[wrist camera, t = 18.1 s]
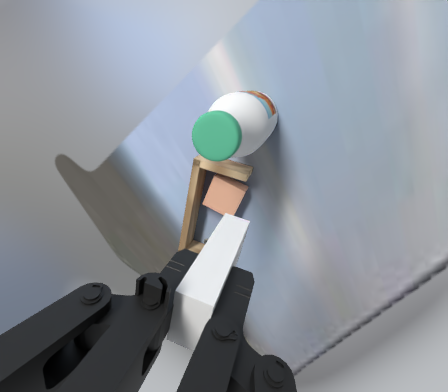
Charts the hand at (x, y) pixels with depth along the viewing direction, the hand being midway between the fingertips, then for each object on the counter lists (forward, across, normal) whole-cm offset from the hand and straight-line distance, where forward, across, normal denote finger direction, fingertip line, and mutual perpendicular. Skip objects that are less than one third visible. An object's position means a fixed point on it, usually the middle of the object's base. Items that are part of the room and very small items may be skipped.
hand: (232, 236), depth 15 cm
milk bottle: (+30, -5, +3) cm, 30 cm away
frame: (+29, -8, -15) cm, 34 cm away
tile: (+30, -6, -11) cm, 32 cm away
